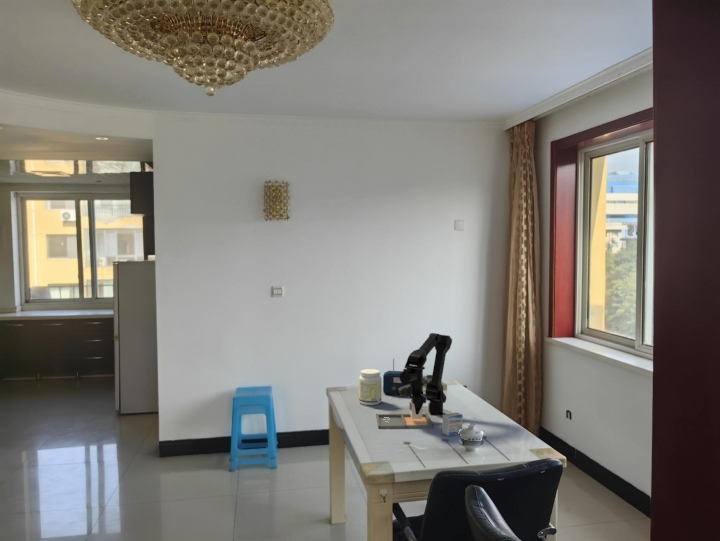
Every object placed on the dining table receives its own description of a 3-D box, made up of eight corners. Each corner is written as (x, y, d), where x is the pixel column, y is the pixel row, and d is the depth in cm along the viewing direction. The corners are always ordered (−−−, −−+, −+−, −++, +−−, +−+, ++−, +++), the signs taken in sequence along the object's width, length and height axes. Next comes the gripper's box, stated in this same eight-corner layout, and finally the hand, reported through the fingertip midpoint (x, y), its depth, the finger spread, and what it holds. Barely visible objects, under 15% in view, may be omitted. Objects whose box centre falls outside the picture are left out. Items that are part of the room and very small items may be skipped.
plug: (420, 416, 250) (421, 399, 250) (422, 418, 246) (422, 402, 246) (409, 416, 250) (409, 399, 250) (410, 418, 246) (410, 402, 246)
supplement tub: (367, 398, 289) (367, 367, 288) (385, 401, 282) (386, 370, 281) (354, 403, 279) (354, 371, 279) (373, 407, 272) (373, 375, 271)
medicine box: (448, 436, 230) (448, 417, 230) (442, 433, 234) (442, 414, 234) (462, 433, 234) (462, 414, 233) (456, 430, 238) (456, 411, 237)
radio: (382, 395, 295) (383, 359, 294) (384, 391, 303) (384, 356, 303) (420, 397, 291) (420, 361, 290) (421, 392, 300) (421, 358, 299)
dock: (427, 416, 257) (427, 413, 257) (433, 428, 240) (433, 425, 240) (375, 417, 256) (375, 414, 256) (378, 429, 239) (378, 425, 239)
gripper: (397, 375, 257) (397, 406, 257) (401, 385, 238) (401, 419, 239) (420, 375, 257) (419, 406, 258) (426, 385, 238) (426, 419, 239)
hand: (416, 412), depth 248 cm, fingers closed on plug, 4 cm apart
